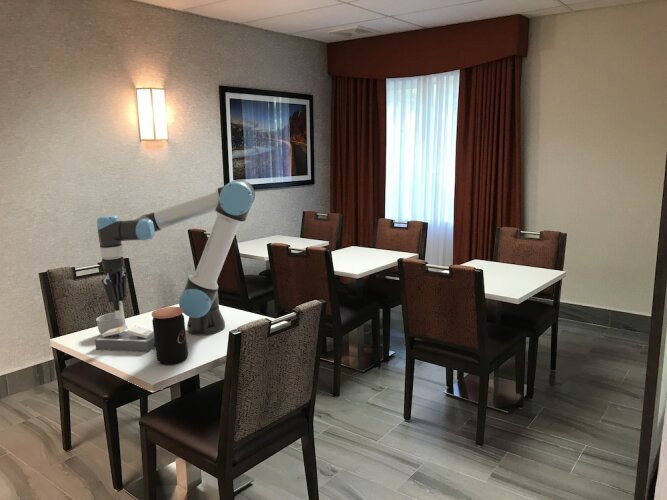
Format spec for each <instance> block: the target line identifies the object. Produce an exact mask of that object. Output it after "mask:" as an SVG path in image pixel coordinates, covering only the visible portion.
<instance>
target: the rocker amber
mask: <svg viewBox="0 0 667 500" xmlns="http://www.w3.org/2000/svg"><path fill="white" fill-rule="evenodd" d="M127 330H129V327H128V325H126V326H122V327H119V328H115V329H110V330H108V331H107V332H105V333H103V334H101V336H103V337H105V336H110V335H114V334H118V333H121V332H123V331H127Z"/></svg>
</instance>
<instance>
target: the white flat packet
mask: <svg viewBox="0 0 667 500" xmlns="http://www.w3.org/2000/svg"><path fill="white" fill-rule="evenodd" d="M127 331H128V333H129V334H133V335H136V336H140V337H143V338H148V337H150V336H151V335H153V334H154V331H153V330H152V329H150V328H149V329H148V328H144V327H141V326H138V325H133V326H132V327H130V328H128V329H127Z"/></svg>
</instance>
